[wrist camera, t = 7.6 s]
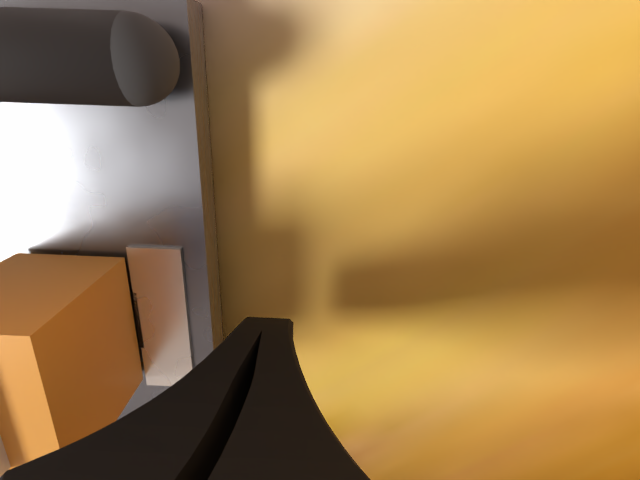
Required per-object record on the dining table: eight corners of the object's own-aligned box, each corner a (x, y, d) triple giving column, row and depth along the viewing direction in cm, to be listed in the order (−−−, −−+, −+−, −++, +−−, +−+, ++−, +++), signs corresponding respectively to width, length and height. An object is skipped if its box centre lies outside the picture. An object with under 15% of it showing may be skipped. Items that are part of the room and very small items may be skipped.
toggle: (143, 378, 14) (60, 506, 9) (48, 374, 14) (-75, 499, 10) (124, 257, 12) (15, 348, 8) (17, 252, 12) (-147, 341, 8)
